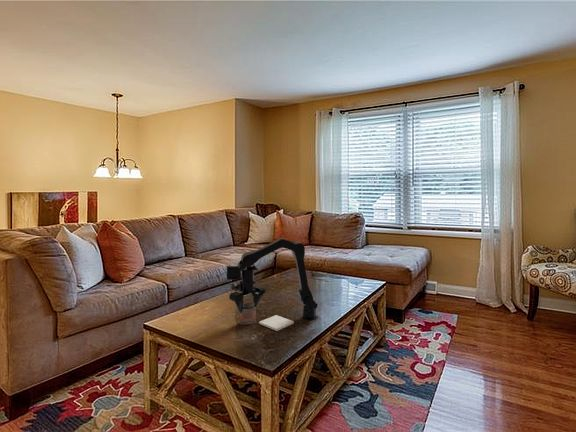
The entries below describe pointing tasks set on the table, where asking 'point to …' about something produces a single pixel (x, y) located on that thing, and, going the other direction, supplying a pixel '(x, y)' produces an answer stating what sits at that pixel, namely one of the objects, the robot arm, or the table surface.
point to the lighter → (247, 314)
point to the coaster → (276, 322)
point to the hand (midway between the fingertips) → (247, 310)
